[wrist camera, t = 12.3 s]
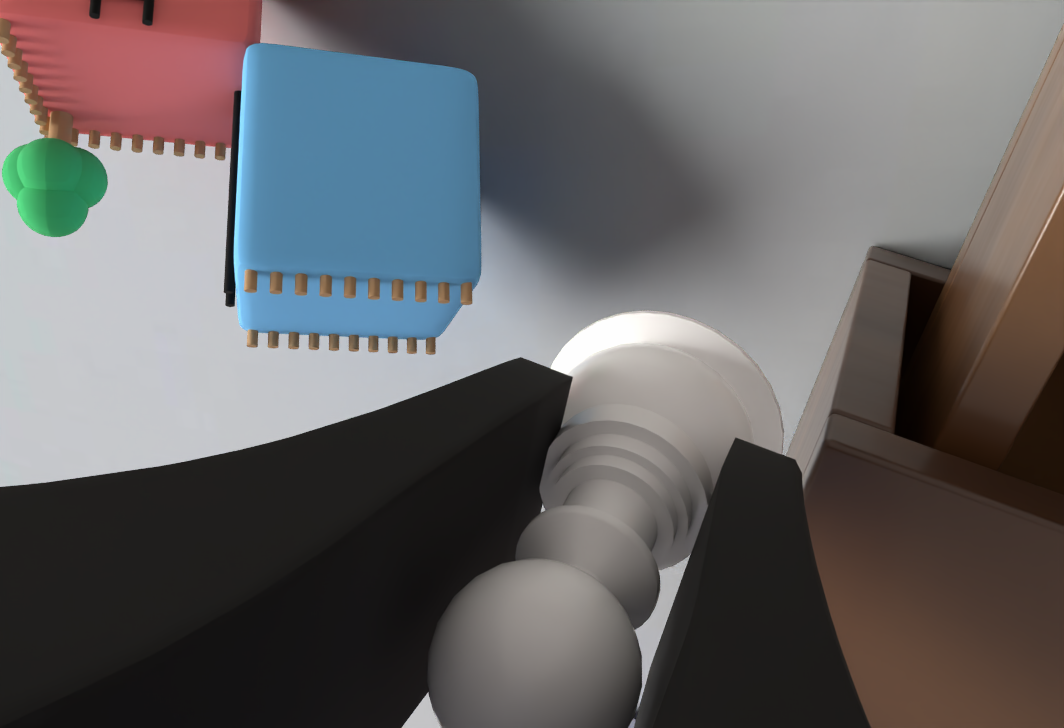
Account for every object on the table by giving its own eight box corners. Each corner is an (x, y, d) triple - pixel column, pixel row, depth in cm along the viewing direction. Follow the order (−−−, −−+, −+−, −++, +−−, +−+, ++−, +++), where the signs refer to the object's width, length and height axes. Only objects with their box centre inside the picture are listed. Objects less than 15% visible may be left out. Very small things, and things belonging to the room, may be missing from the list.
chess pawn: (714, 265, 10) (535, 526, 6) (830, 486, 10) (744, 874, 6) (509, 355, 11) (248, 614, 7) (618, 544, 12) (434, 887, 8)
